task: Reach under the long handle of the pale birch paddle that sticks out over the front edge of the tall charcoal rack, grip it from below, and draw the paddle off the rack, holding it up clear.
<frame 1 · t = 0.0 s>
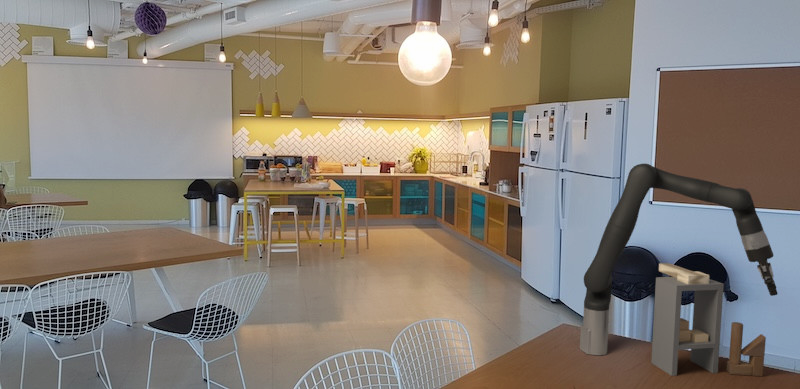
hand: (773, 292, 199), 31 cm above the table, tool tilted 20°, fingers open, 8 cm apart
wooden block: (744, 374, 211), on the table
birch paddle: (689, 280, 212), point 32 cm above the table, touching charcoal rack
charcoal rack: (683, 367, 215), on the table
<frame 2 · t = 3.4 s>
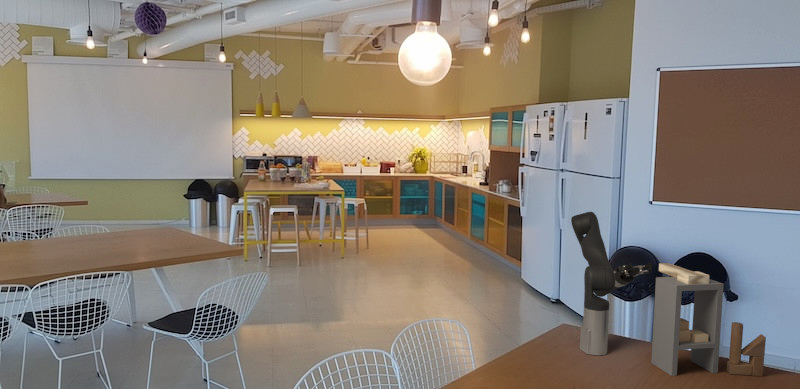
hand: (641, 265, 241), 31 cm above the table, tool pointing upward, fingers open, 8 cm apart
nothing on the table moved.
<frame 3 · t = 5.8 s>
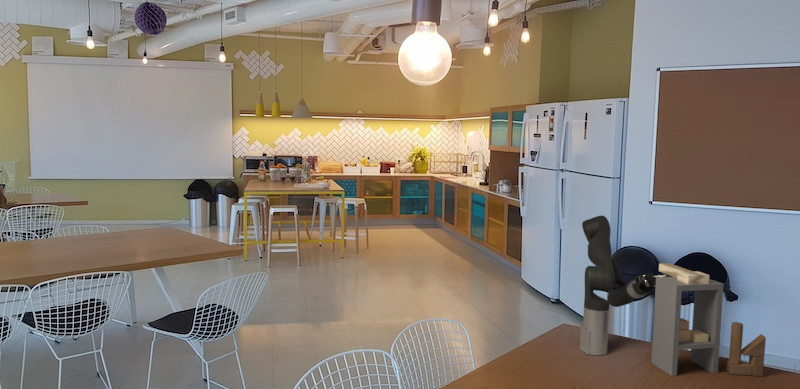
hand: (662, 274, 227), 30 cm above the table, tool pointing upward, fingers open, 8 cm apart
nothing on the table moved.
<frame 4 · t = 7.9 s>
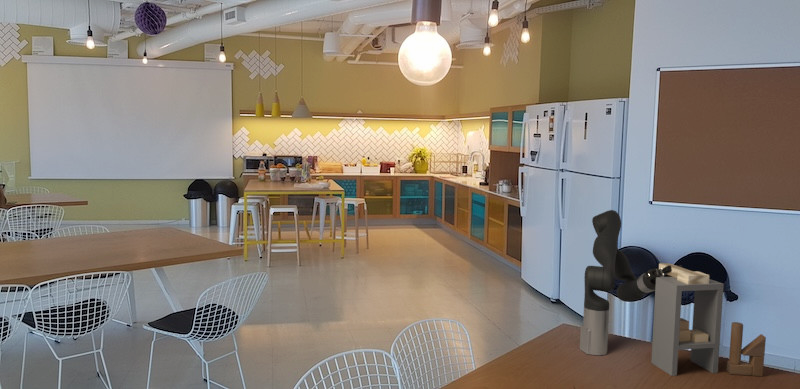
hand: (676, 267, 219), 35 cm above the table, tool pointing upward, fingers closed on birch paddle, 4 cm apart
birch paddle: (689, 280, 212), point 32 cm above the table, touching charcoal rack, gripper
everything else where it was.
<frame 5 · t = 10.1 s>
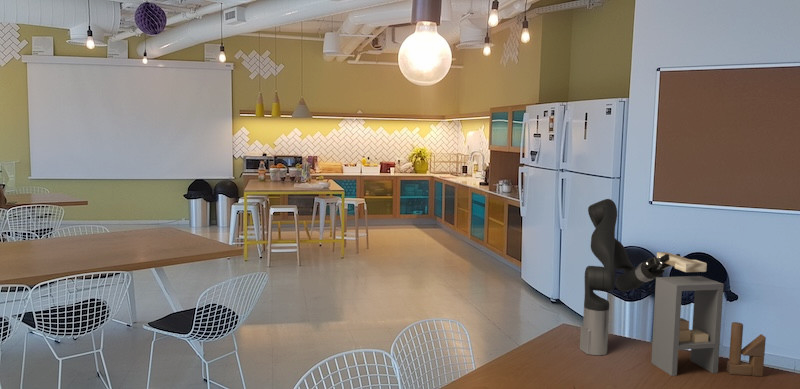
hand: (673, 256, 220), 39 cm above the table, tool pointing upward, fingers closed on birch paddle, 4 cm apart
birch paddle: (686, 268, 213), point 36 cm above the table, touching gripper
everything else where it was.
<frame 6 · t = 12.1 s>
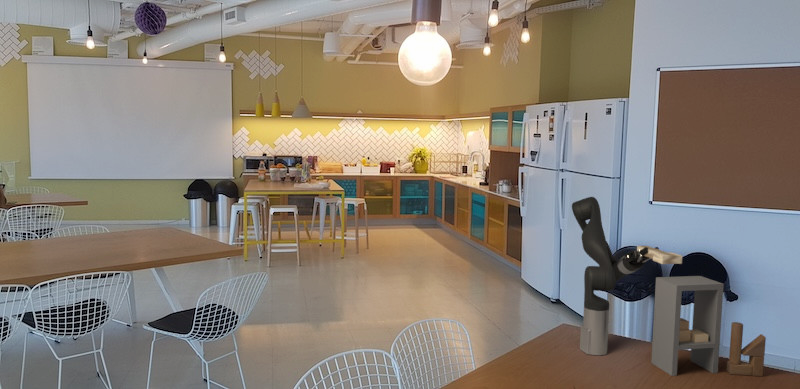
hand: (652, 249, 234), 39 cm above the table, tool pointing upward, fingers closed on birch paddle, 4 cm apart
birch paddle: (663, 260, 226), point 36 cm above the table, touching gripper
everything else where it was.
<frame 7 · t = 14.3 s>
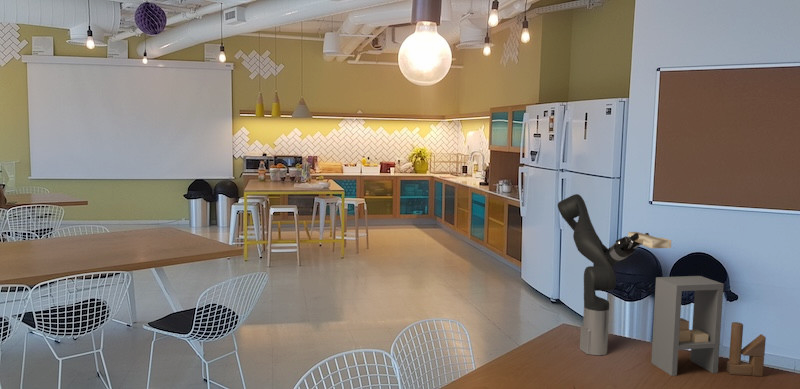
hand: (643, 235, 240), 43 cm above the table, tool pointing upward, fingers closed on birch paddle, 4 cm apart
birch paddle: (653, 245, 233), point 40 cm above the table, touching gripper
everything else where it was.
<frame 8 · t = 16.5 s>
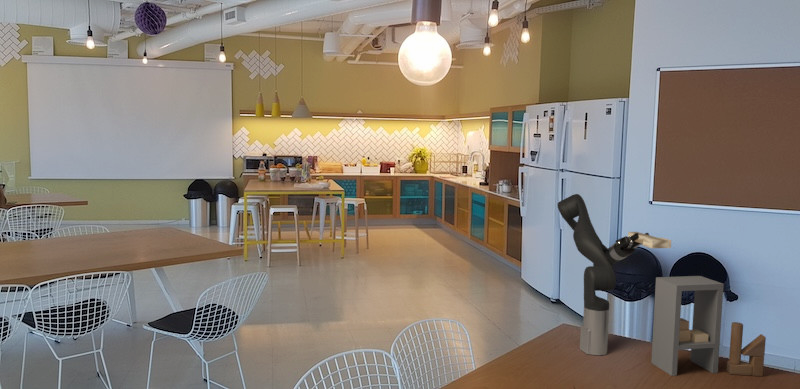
hand: (642, 235, 240), 43 cm above the table, tool pointing upward, fingers closed on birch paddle, 4 cm apart
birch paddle: (653, 245, 233), point 40 cm above the table, touching gripper
everything else where it was.
at the end: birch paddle moved 23.5 cm from its start; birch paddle touching gripper; the gripper is holding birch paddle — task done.
